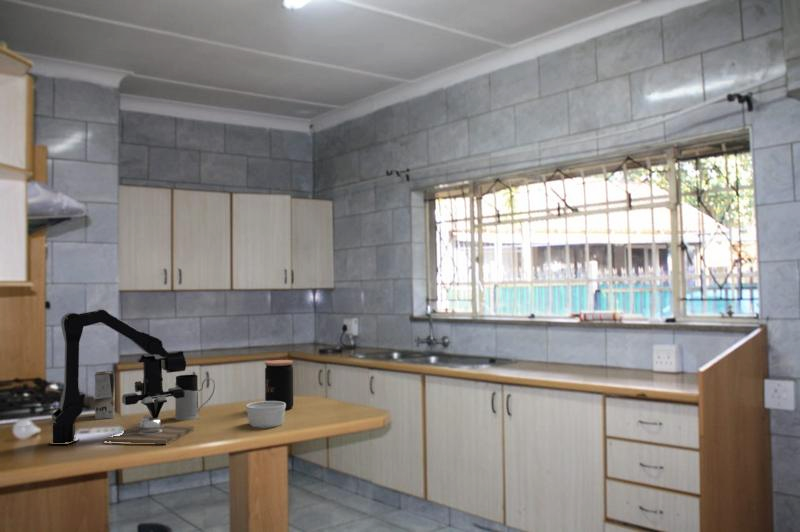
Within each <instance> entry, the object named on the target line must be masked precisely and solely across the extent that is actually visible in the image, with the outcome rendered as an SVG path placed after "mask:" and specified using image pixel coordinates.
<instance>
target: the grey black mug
mask: <svg viewBox="0 0 800 532" xmlns="http://www.w3.org/2000/svg"><path fill="white" fill-rule="evenodd" d="M198 380H199V379H198V375H197V374H181V375H177V376H175V386H174V388H176V387H179V388H182V389H183V390H184V392H185V397H182V398H174V399H175V414H174V415H175V416H174V418H173V419H174V420H175V419H176V420H175V421H192V420H191V419H193V420H197V419H196V418H198V419H200V415H199V413H200V409H201V408H202V407H204V406H205V405H206V404H207V403H208V402H209V401H210V400H211V399H212V397H213V395H214V393H215V387H216V385H215V384H216V383H215V381H214V379H213V378H210V377H208V378H205V379H204V380H203V381H202V383H201V389H198V387H199V386H198V383H199V382H198ZM207 380H211V381H212V382H213V389H212V392H211V394H210V396H209V398H208V399H207V400H205V402H204V403H202V404H201V405H200V407H199V392H201V391H203V389H204V383H205V382H206V381H207Z"/></svg>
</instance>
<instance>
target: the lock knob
mask: <svg viewBox="0 0 800 532" xmlns="http://www.w3.org/2000/svg"><path fill="white" fill-rule="evenodd" d="M142 418H143V419H140V424H139V425H140V431H141V432H143V433H151V432H157V431H160V430H161V425H162V423H161V418H159V417H158V418H152V417H151V414H143V415H142Z"/></svg>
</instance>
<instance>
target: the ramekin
mask: <svg viewBox="0 0 800 532" xmlns="http://www.w3.org/2000/svg"><path fill="white" fill-rule="evenodd" d="M245 408H246V411H247V419H248V423H249V425H250V426H251V427H253V428H261V429H266V428H275V427H276V428H277V427H279V426H281V425H282V424H283V423H284V420H285V413H286V410H285V408H286V403H284V402H280V401H265V400H262V401H254V402H250V403H248V404H246V407H245Z"/></svg>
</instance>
